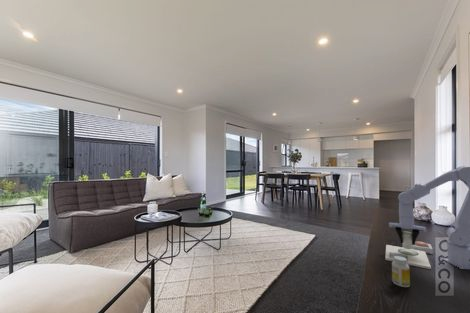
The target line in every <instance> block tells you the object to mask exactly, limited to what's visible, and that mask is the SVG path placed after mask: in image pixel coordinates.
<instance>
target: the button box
mask: <svg viewBox="0 0 470 313" xmlns="http://www.w3.org/2000/svg"><path fill="white" fill-rule="evenodd" d="M413 249H414V250H420V251H425V252H426V254H431V255H434V249H433V247H432V244H430V243H427V247H422V246H417V245H416V243H415V245H413Z"/></svg>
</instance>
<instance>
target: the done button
mask: <svg viewBox="0 0 470 313" xmlns="http://www.w3.org/2000/svg"><path fill="white" fill-rule="evenodd" d="M415 243H416V245H417V246H422V247H427V244H428V243H427V242H424V241H417V240H415Z"/></svg>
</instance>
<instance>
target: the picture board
mask: <svg viewBox="0 0 470 313" xmlns="http://www.w3.org/2000/svg"><path fill="white" fill-rule="evenodd" d="M394 256H401V257H404V258H406V259H407V265H408V266H412V267H413V266H414V267H417V268H422V269H427V270H432V267H431V264H430V260H429V258H428V256H427V253H426V252H425V251H420V250H414V249H406V248H403V246H402V247H401V246H395V245H390V244H386V245H385V259H384V260H385V261H389V262H394Z"/></svg>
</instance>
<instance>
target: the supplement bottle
mask: <svg viewBox="0 0 470 313" xmlns="http://www.w3.org/2000/svg"><path fill="white" fill-rule="evenodd" d="M410 272H411V270H410V265H407V259H406V258H404V257H401V256H394V262H393V261H391V280H392V282H393V284H394V285H396V286H399V287H401V288H402V287H403V288H409V287H410V286H411V274H410Z"/></svg>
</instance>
